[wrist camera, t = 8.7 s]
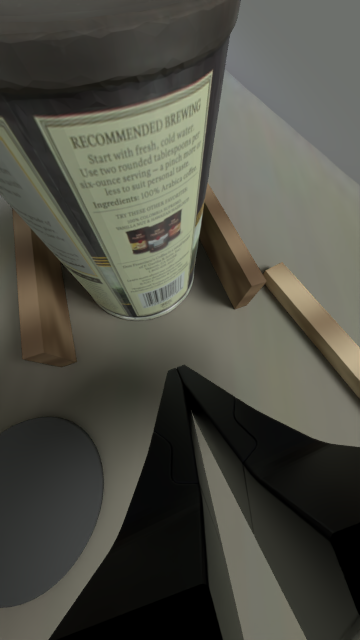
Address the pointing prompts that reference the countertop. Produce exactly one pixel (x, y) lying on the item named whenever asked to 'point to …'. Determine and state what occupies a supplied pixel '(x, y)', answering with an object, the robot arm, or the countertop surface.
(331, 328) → the oak stirring stick
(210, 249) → the walnut cubby
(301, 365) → the countertop surface
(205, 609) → the robot arm
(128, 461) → the countertop surface
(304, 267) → the countertop surface
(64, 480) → the mat
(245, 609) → the countertop surface
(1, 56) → the coffee can
